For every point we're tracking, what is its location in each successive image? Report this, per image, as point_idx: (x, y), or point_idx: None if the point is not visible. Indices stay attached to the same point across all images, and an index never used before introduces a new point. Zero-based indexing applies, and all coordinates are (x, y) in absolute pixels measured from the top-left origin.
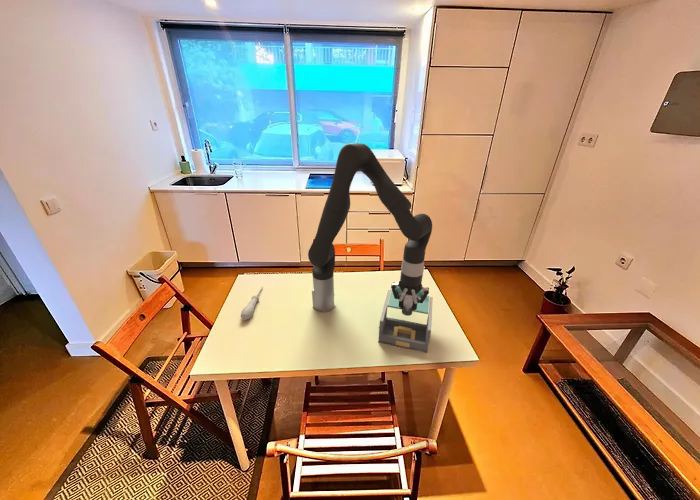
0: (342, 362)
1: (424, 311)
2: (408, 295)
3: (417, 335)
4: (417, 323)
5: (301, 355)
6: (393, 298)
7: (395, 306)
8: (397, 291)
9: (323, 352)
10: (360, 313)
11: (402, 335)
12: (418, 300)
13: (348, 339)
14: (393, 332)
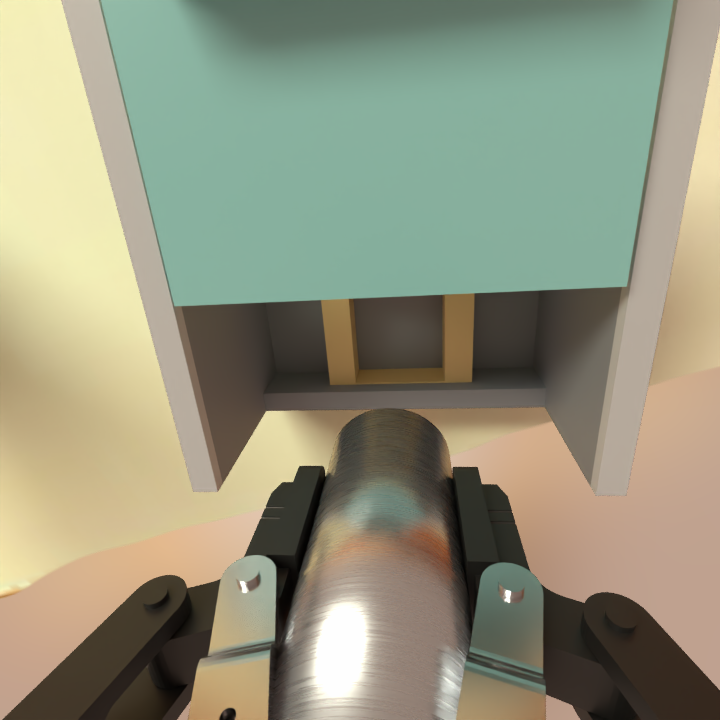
0: (166, 525)
1: (582, 278)
2: None
3: None
4: None
5: (5, 532)
6: (185, 152)
7: (254, 298)
8: (129, 672)
9: (67, 501)
10: (56, 168)
11: (388, 308)
12: (556, 688)
13: (118, 407)
14: (327, 343)
